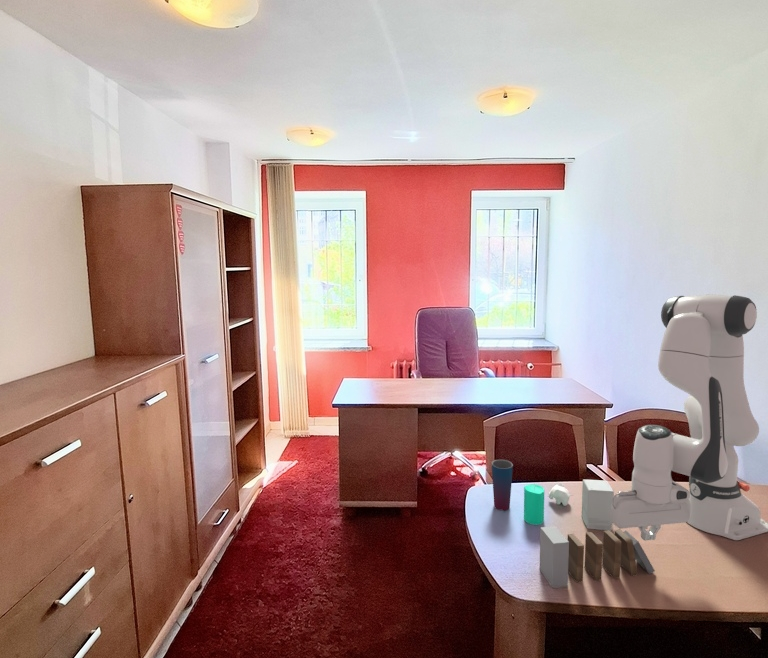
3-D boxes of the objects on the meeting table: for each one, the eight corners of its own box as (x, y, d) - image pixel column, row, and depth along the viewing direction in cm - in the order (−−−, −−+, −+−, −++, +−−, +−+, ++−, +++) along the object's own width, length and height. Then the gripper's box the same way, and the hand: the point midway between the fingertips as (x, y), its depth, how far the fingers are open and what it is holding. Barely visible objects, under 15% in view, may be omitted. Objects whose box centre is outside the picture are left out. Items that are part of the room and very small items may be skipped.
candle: (524, 523, 139) (525, 487, 137) (523, 513, 145) (523, 478, 143) (544, 525, 137) (545, 489, 136) (542, 515, 143) (543, 480, 142)
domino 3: (607, 564, 119) (609, 530, 118) (619, 577, 114) (621, 541, 113) (602, 565, 119) (603, 530, 117) (613, 578, 114) (615, 542, 113)
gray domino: (641, 558, 120) (625, 530, 118) (654, 570, 115) (638, 541, 113) (636, 561, 120) (620, 533, 118) (649, 574, 115) (633, 545, 113)
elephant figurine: (548, 495, 155) (549, 479, 154) (573, 500, 152) (574, 484, 151) (546, 505, 149) (546, 488, 148) (572, 510, 146) (572, 493, 145)
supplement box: (612, 531, 134) (614, 491, 132) (586, 529, 135) (587, 489, 134) (605, 517, 141) (607, 480, 139) (580, 515, 142) (582, 478, 141)
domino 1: (572, 568, 118) (573, 533, 117) (582, 581, 113) (584, 545, 112) (566, 569, 118) (567, 534, 116) (576, 582, 113) (578, 546, 111)
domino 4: (625, 562, 119) (619, 528, 118) (637, 574, 115) (632, 540, 113) (619, 563, 119) (614, 530, 118) (632, 576, 114) (626, 541, 113)
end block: (553, 567, 118) (555, 525, 117) (567, 586, 112) (568, 542, 110) (539, 569, 118) (540, 527, 116) (552, 588, 111) (553, 543, 109)
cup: (496, 499, 154) (497, 457, 152) (515, 505, 150) (516, 462, 148) (487, 507, 149) (488, 464, 147) (507, 514, 144) (507, 470, 142)
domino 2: (590, 566, 118) (591, 531, 117) (601, 579, 114) (602, 543, 112) (584, 567, 118) (585, 532, 117) (595, 580, 113) (596, 544, 112)
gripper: (621, 498, 110) (618, 550, 112) (696, 492, 112) (692, 542, 114) (605, 486, 116) (603, 535, 118) (677, 480, 119) (674, 528, 121)
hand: (648, 538), depth 116 cm, fingers closed
